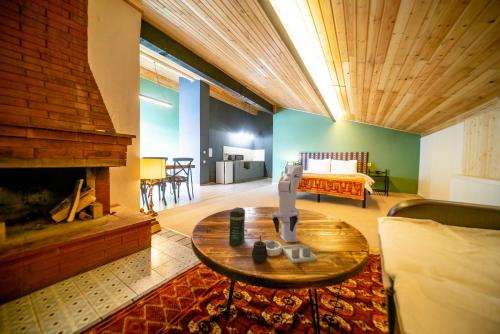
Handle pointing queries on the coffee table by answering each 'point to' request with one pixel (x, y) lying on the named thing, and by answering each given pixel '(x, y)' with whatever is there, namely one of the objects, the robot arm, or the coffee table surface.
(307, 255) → the pebble
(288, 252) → the tray
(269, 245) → the grey rounded cylinder
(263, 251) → the mate gourd
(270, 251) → the bowl
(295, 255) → the pebble
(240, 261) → the coffee table surface
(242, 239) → the coffee jar
